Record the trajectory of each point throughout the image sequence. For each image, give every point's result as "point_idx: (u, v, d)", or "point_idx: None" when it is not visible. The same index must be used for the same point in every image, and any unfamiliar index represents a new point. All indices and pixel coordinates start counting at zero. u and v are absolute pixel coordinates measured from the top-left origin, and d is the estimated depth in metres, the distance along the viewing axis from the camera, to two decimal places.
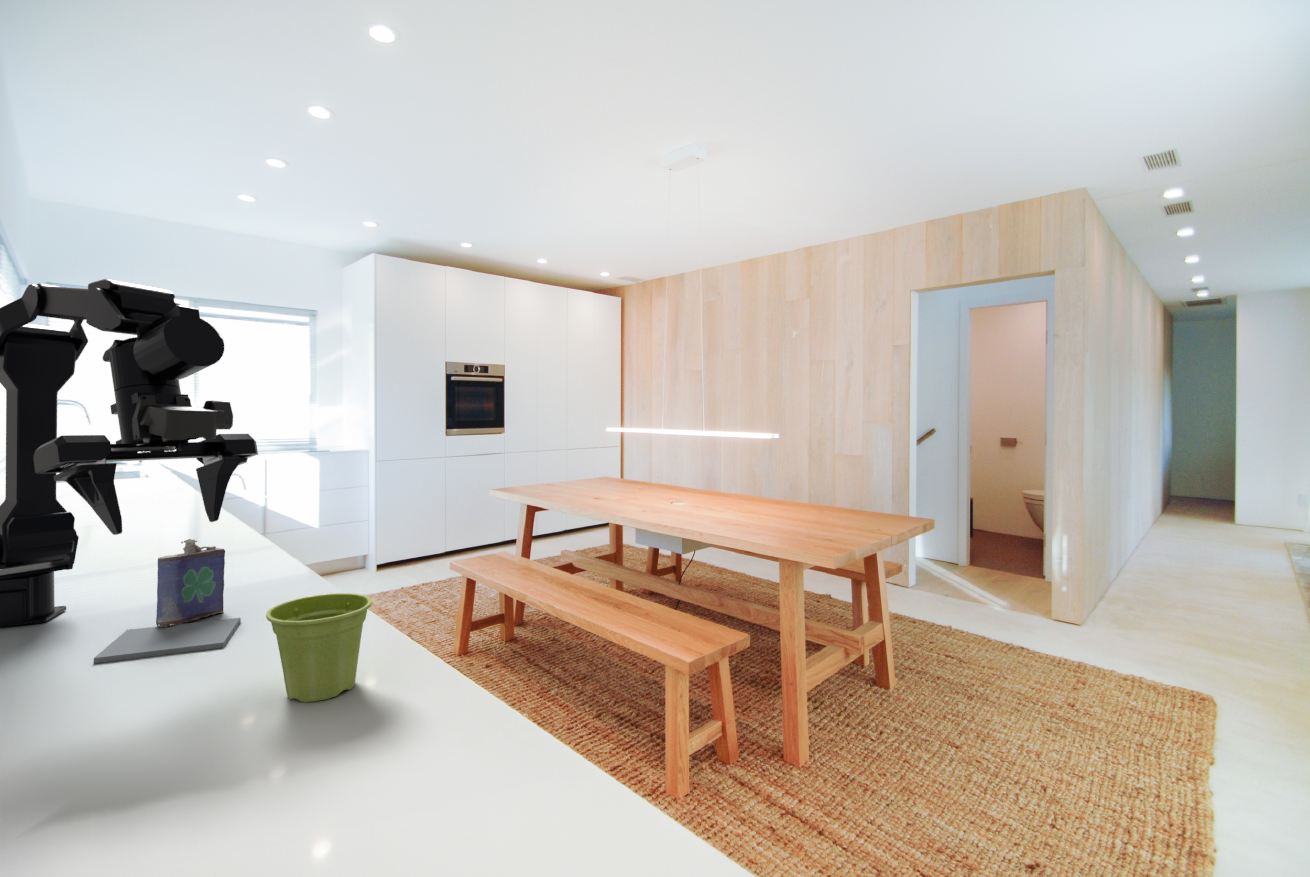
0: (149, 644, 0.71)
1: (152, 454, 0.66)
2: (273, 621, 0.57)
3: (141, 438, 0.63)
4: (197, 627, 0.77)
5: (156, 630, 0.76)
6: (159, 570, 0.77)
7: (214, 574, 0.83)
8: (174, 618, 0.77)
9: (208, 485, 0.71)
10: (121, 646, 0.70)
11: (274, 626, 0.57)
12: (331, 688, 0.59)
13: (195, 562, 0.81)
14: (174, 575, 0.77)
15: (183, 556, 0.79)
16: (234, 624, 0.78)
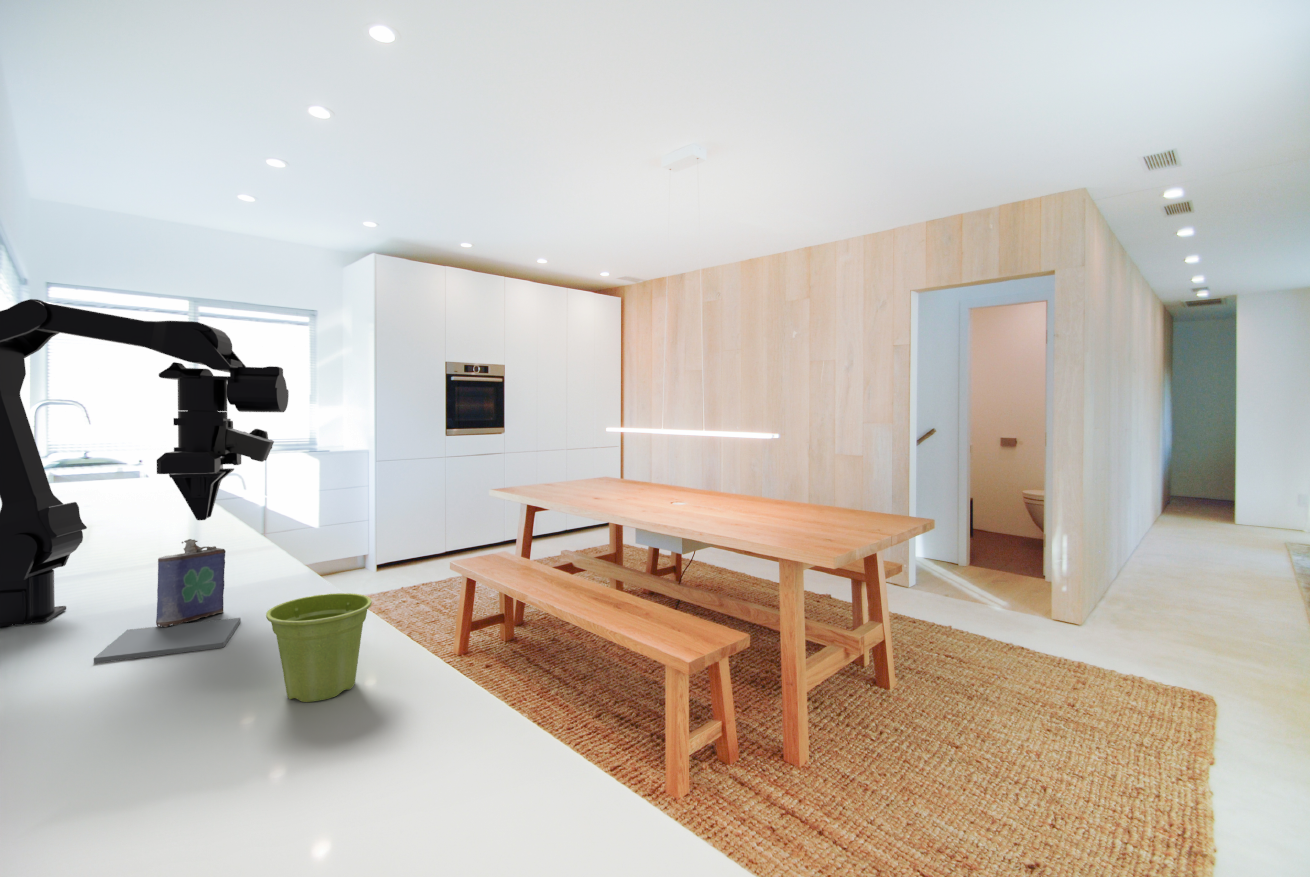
0: (149, 644, 0.71)
1: None
2: (273, 621, 0.57)
3: (223, 454, 0.85)
4: (197, 627, 0.77)
5: (156, 630, 0.76)
6: (159, 570, 0.77)
7: (214, 574, 0.83)
8: (174, 619, 0.77)
9: None
10: (121, 646, 0.70)
11: (274, 626, 0.57)
12: (331, 688, 0.59)
13: (195, 562, 0.81)
14: (174, 576, 0.77)
15: (183, 556, 0.79)
16: (234, 624, 0.78)
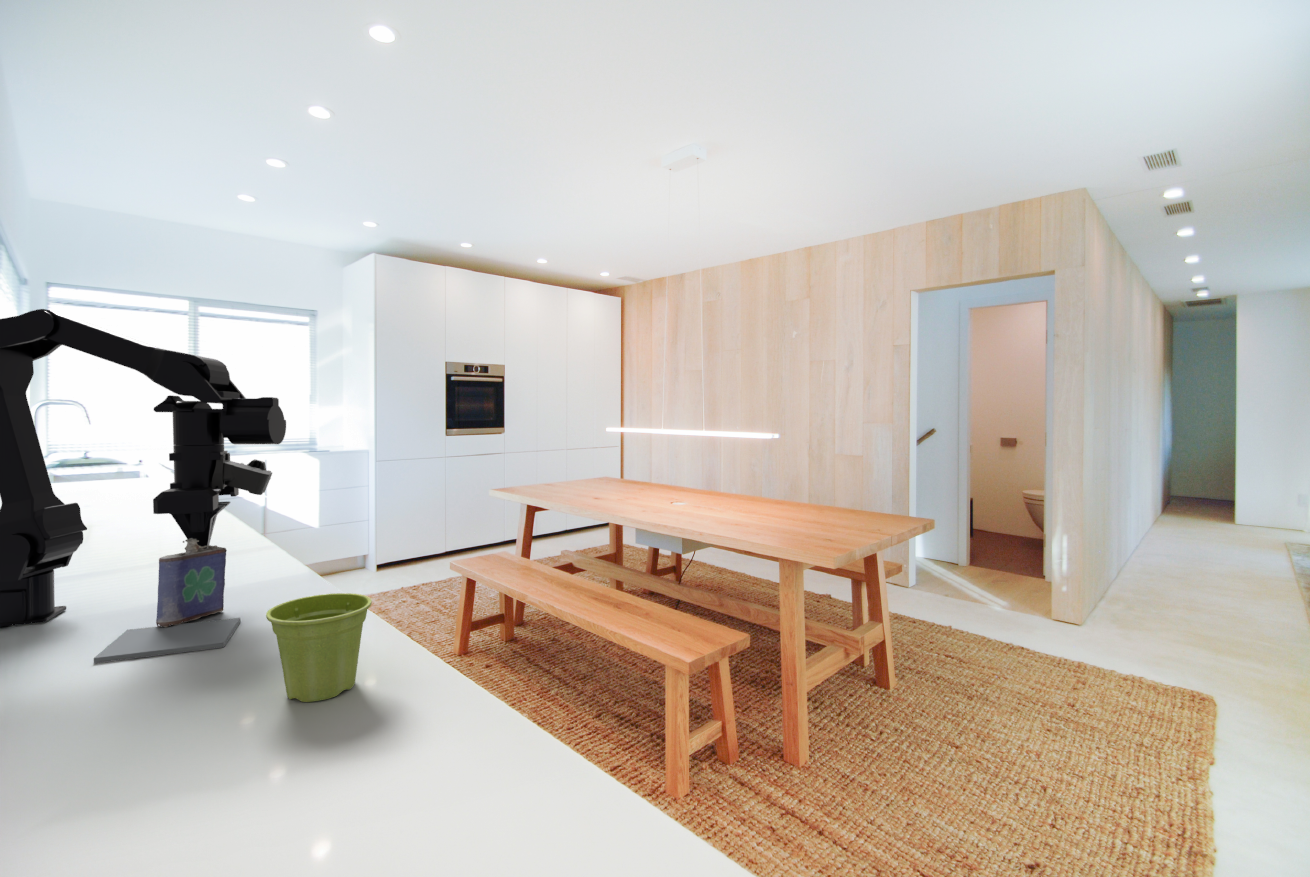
0: (149, 644, 0.71)
1: None
2: (273, 621, 0.57)
3: (220, 488, 0.83)
4: (197, 627, 0.77)
5: (156, 630, 0.76)
6: (160, 570, 0.77)
7: (215, 573, 0.83)
8: (174, 619, 0.77)
9: None
10: (121, 646, 0.70)
11: (274, 626, 0.57)
12: (331, 688, 0.59)
13: (196, 562, 0.81)
14: (175, 576, 0.77)
15: (184, 556, 0.79)
16: (234, 624, 0.78)
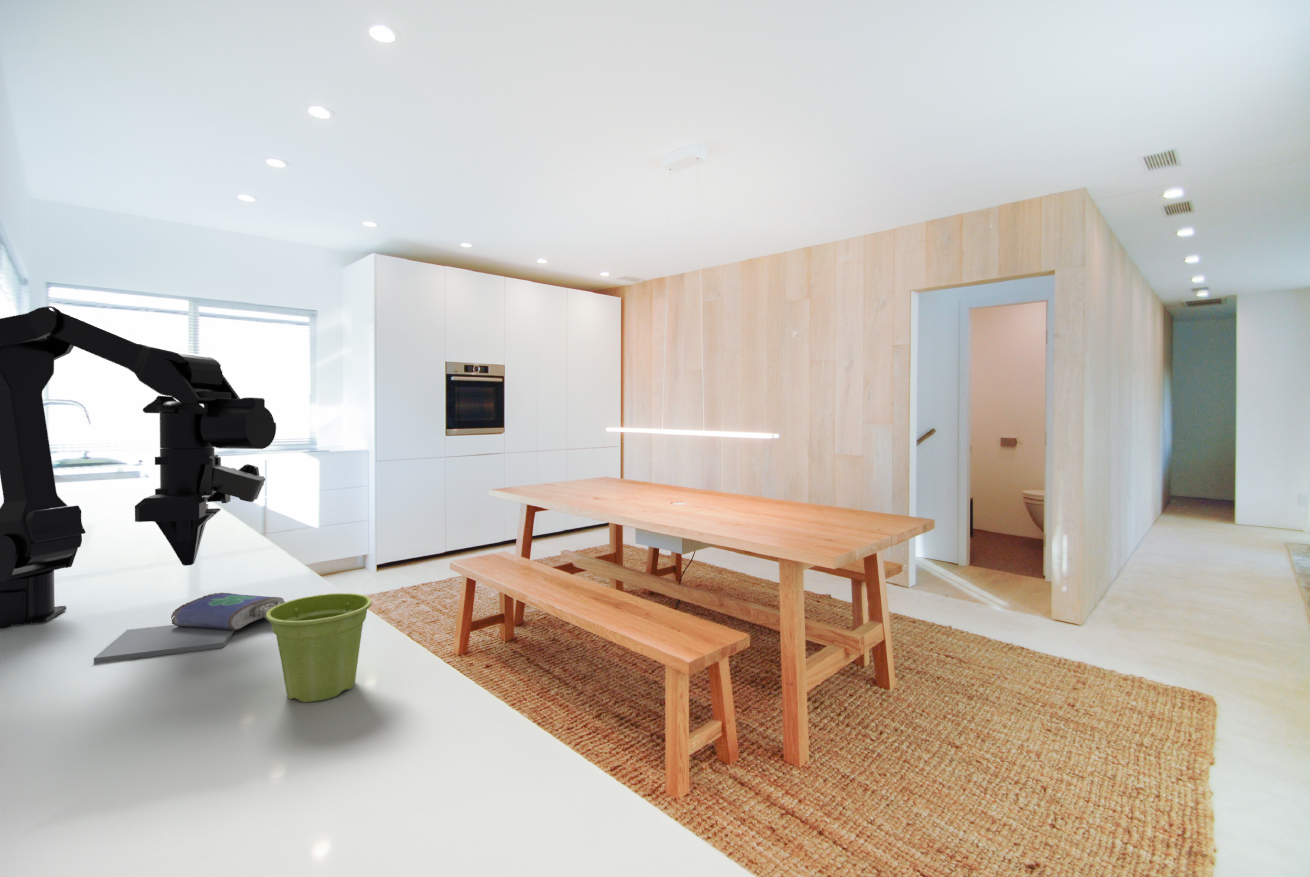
0: (149, 644, 0.71)
1: None
2: (273, 621, 0.57)
3: (209, 495, 0.78)
4: (197, 627, 0.77)
5: (156, 630, 0.76)
6: (220, 621, 0.75)
7: None
8: None
9: None
10: (121, 646, 0.70)
11: (274, 626, 0.57)
12: (331, 688, 0.59)
13: None
14: (220, 628, 0.76)
15: (245, 625, 0.77)
16: None
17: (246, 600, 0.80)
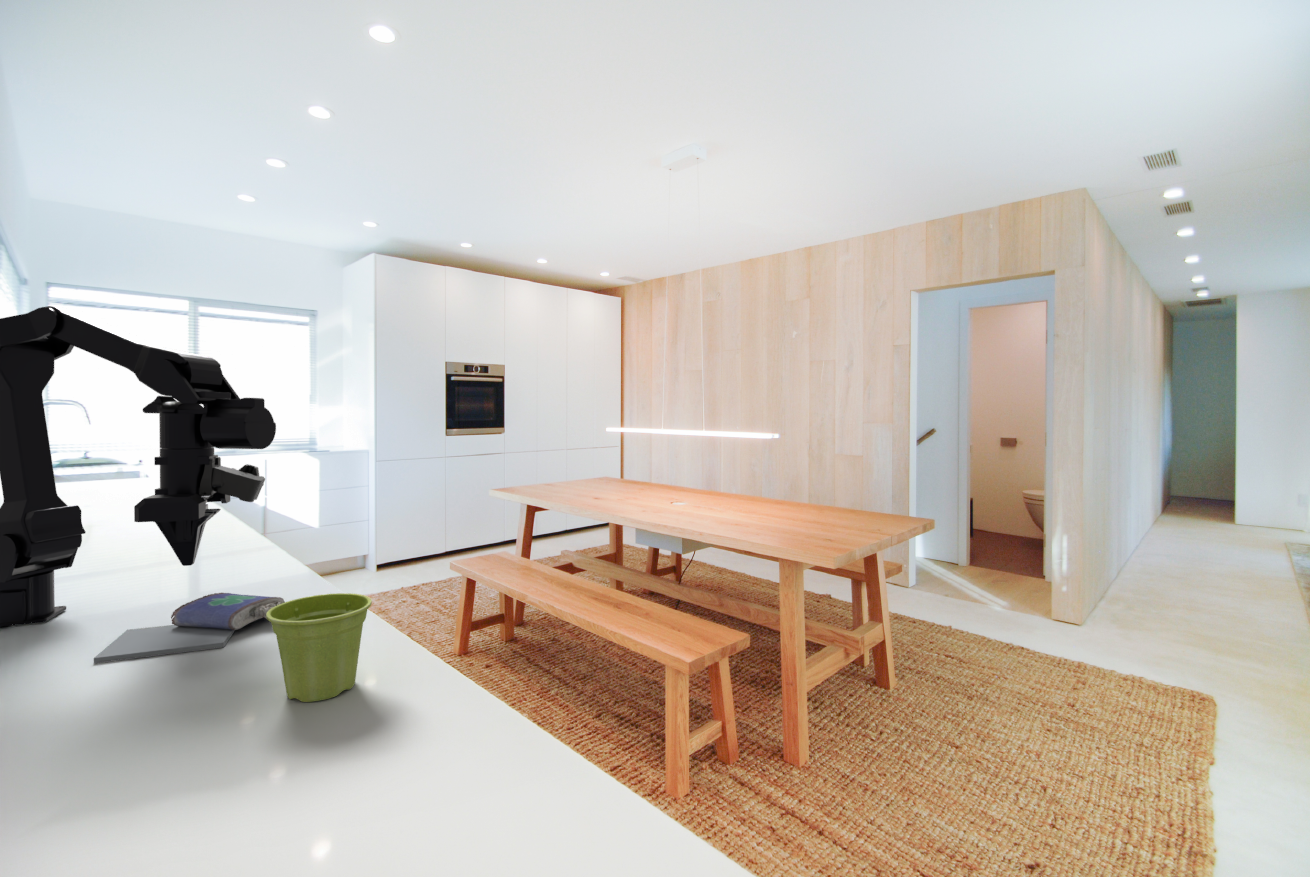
0: (149, 644, 0.71)
1: None
2: (273, 621, 0.57)
3: (209, 495, 0.78)
4: (197, 627, 0.77)
5: (156, 630, 0.76)
6: (220, 621, 0.75)
7: None
8: None
9: None
10: (121, 646, 0.70)
11: (274, 626, 0.57)
12: (331, 688, 0.59)
13: None
14: (220, 628, 0.76)
15: (245, 625, 0.77)
16: None
17: (246, 600, 0.80)
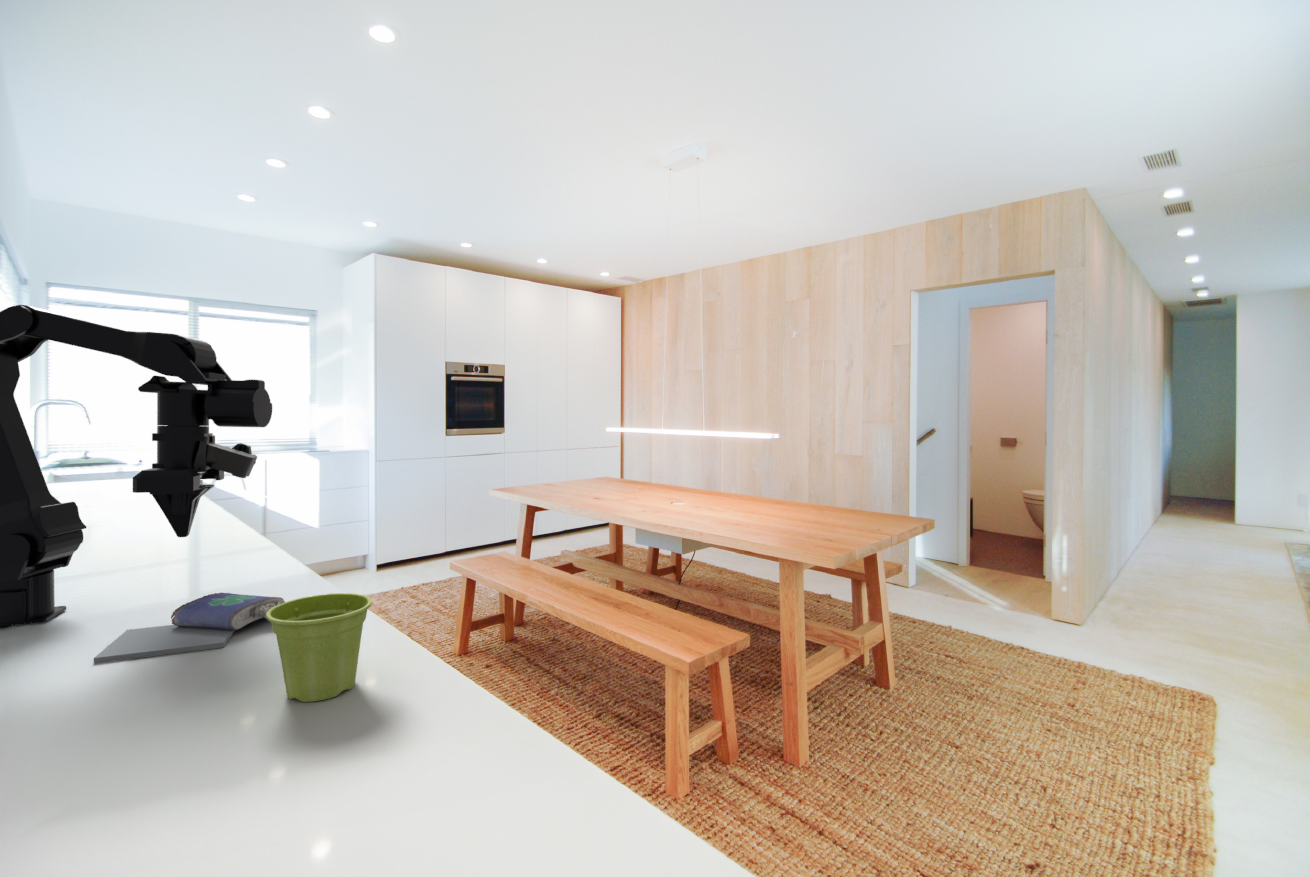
0: (149, 644, 0.71)
1: None
2: (273, 621, 0.57)
3: (203, 470, 0.83)
4: (197, 627, 0.77)
5: (156, 630, 0.76)
6: (220, 621, 0.75)
7: None
8: None
9: None
10: (121, 646, 0.70)
11: (274, 626, 0.57)
12: (331, 688, 0.59)
13: None
14: (220, 628, 0.76)
15: (245, 625, 0.77)
16: None
17: (246, 600, 0.80)
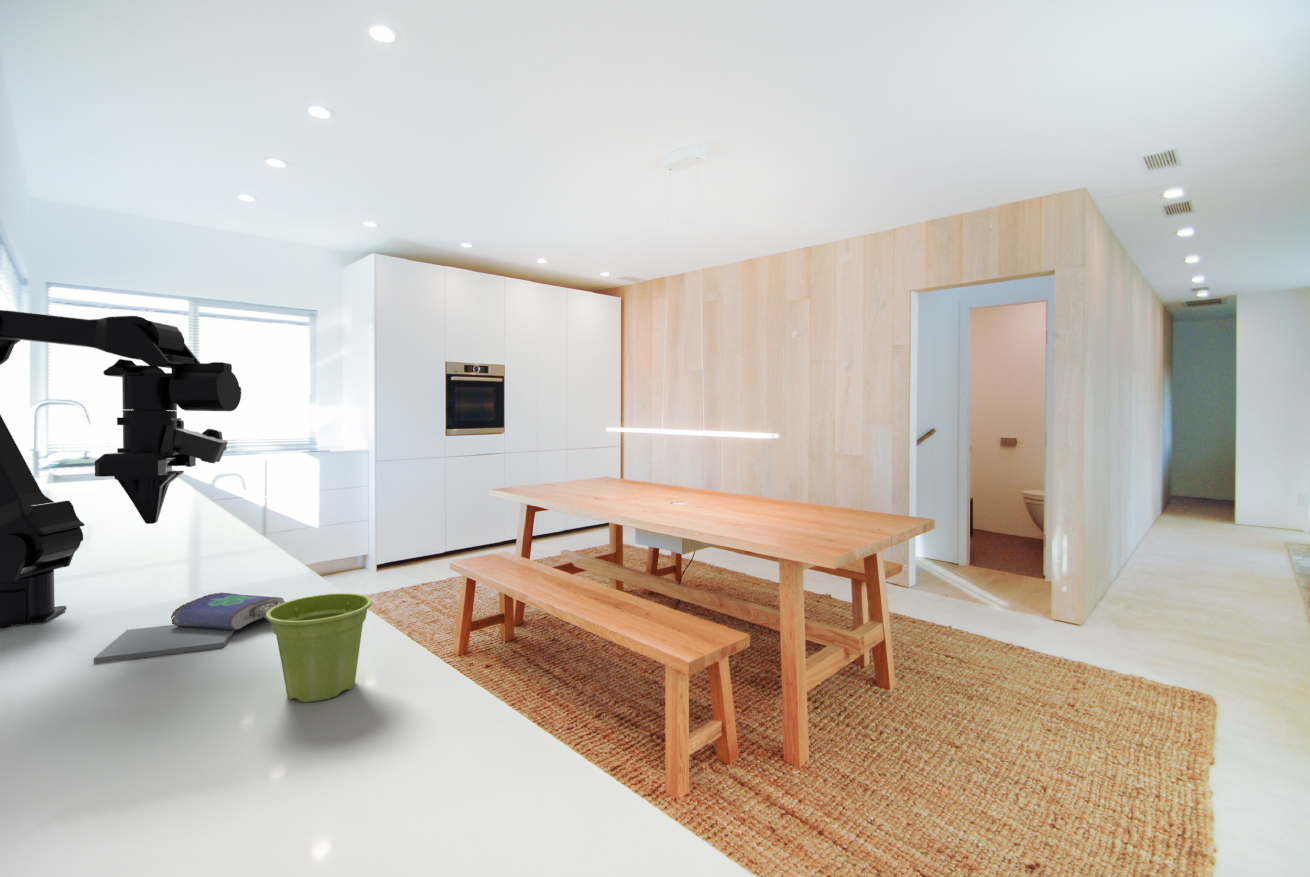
0: (149, 644, 0.71)
1: None
2: (273, 621, 0.57)
3: None
4: (197, 627, 0.77)
5: (156, 630, 0.76)
6: (220, 621, 0.75)
7: None
8: None
9: None
10: (121, 646, 0.70)
11: (274, 626, 0.57)
12: (331, 688, 0.59)
13: None
14: (220, 628, 0.76)
15: (245, 625, 0.77)
16: None
17: (246, 600, 0.80)
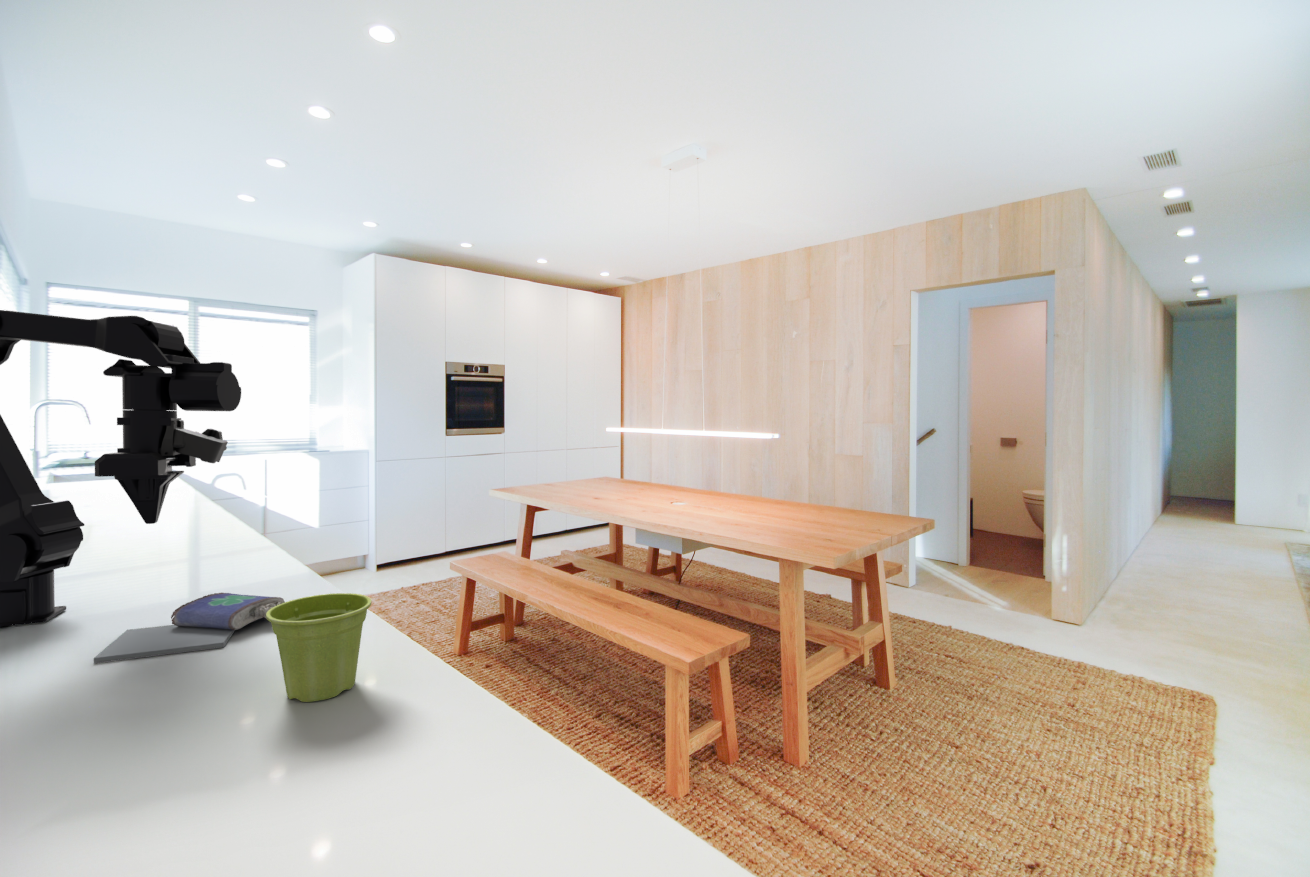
0: (149, 644, 0.71)
1: None
2: (273, 621, 0.57)
3: None
4: (197, 627, 0.77)
5: (156, 630, 0.76)
6: (220, 621, 0.75)
7: None
8: None
9: None
10: (121, 646, 0.70)
11: (274, 626, 0.57)
12: (331, 688, 0.59)
13: None
14: (220, 628, 0.76)
15: (245, 625, 0.77)
16: None
17: (246, 600, 0.80)
